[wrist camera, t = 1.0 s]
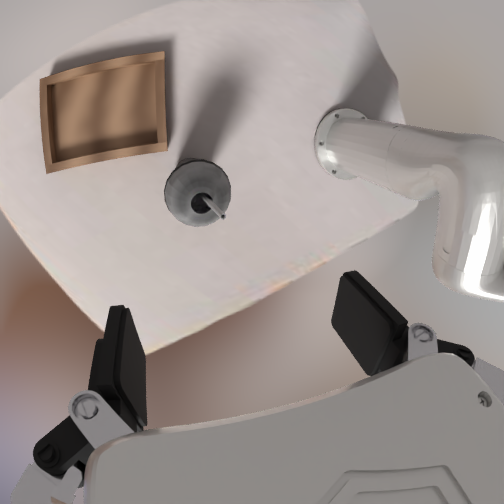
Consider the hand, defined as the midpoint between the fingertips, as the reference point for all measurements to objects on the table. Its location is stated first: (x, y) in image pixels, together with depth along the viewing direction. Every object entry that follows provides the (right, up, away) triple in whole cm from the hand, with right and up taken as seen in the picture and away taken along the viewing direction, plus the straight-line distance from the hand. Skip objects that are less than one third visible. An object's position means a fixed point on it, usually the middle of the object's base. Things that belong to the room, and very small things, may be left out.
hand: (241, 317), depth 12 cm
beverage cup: (-9, +14, +28) cm, 32 cm away
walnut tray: (-20, +22, +19) cm, 36 cm away
